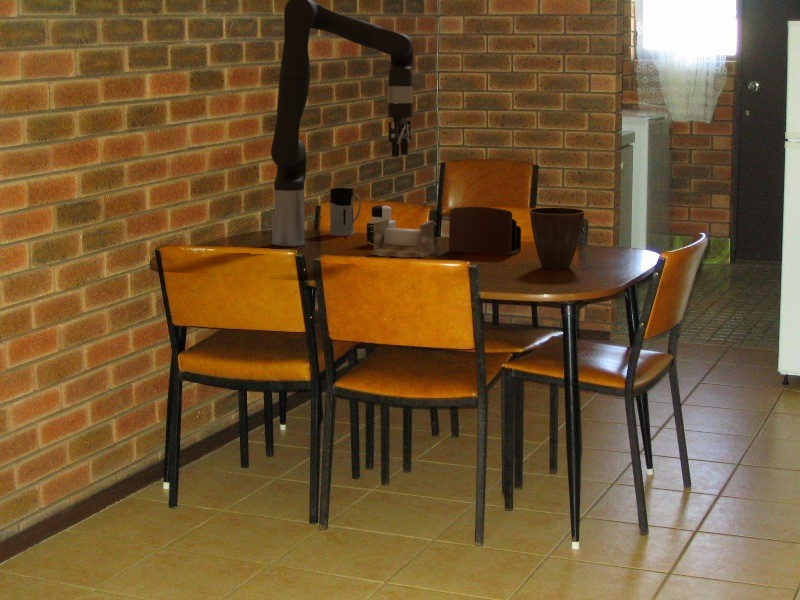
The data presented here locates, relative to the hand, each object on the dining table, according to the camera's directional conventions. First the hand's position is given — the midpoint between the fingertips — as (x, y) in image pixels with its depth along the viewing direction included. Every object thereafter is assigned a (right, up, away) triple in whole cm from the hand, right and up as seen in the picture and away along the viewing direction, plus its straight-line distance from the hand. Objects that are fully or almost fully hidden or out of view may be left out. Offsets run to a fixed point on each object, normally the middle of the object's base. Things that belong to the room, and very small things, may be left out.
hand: (399, 155), depth 366 cm
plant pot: (+43, -35, -32) cm, 64 cm away
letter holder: (+26, -29, -1) cm, 39 cm away
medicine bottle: (-6, -26, +13) cm, 30 cm away
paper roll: (+1, -25, -7) cm, 26 cm away
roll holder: (+1, -30, -7) cm, 31 cm away
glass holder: (-17, -22, +33) cm, 44 cm away
